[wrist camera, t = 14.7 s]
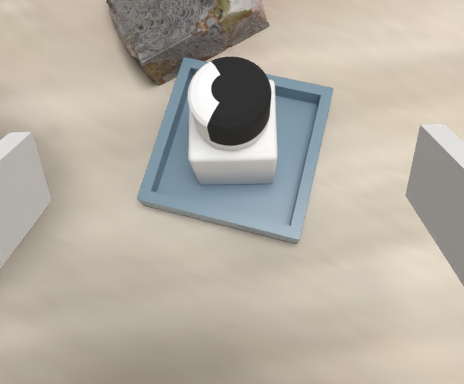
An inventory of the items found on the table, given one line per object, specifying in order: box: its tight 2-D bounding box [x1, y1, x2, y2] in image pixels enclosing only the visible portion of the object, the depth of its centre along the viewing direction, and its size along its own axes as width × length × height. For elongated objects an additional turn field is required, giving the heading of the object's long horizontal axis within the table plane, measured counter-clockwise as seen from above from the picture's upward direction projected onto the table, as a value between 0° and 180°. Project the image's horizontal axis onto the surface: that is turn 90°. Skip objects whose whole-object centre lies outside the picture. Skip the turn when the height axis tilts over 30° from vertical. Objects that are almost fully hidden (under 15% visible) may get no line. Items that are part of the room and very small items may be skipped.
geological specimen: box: [106, 0, 269, 85], centre depth 44 cm, size 11×6×15 cm
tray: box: [137, 57, 333, 244], centre depth 40 cm, size 15×15×2 cm
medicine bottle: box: [188, 57, 277, 185], centre depth 35 cm, size 7×7×12 cm
